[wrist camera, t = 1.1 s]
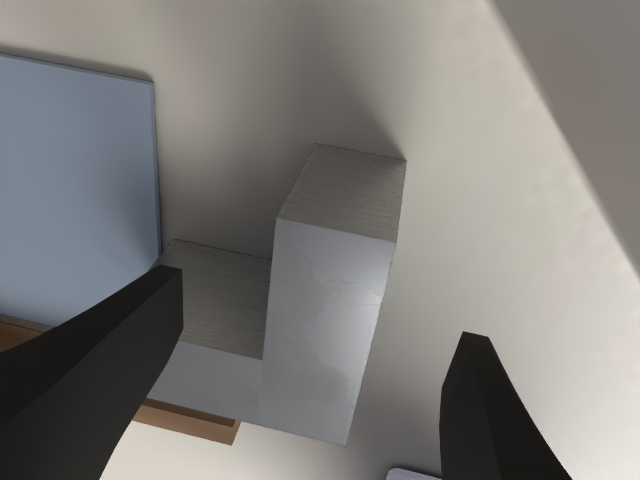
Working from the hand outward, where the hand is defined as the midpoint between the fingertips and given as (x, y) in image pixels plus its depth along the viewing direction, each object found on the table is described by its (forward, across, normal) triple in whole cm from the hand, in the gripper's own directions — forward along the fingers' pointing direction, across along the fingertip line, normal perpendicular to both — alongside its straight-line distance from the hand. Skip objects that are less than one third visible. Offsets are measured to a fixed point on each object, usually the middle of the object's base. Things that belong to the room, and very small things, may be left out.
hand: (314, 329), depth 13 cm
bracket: (+6, +2, +2) cm, 7 cm away
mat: (+6, +12, +3) cm, 13 cm away
